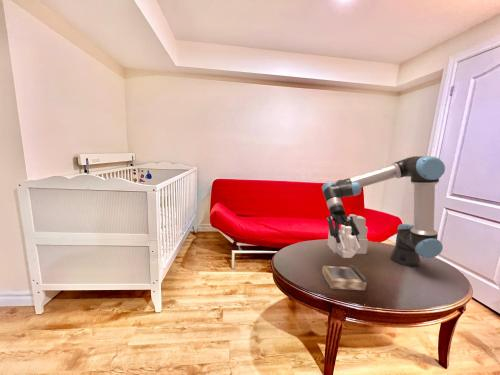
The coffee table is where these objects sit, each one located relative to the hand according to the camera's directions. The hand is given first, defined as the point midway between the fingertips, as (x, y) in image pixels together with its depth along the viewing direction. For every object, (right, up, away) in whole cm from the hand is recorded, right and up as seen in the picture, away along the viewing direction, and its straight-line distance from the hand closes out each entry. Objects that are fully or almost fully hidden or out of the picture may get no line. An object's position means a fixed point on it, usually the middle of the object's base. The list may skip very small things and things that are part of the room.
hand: (350, 249), depth 103 cm
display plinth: (-1, -18, +6) cm, 19 cm away
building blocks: (+18, -13, +45) cm, 50 cm away
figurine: (-1, -5, +4) cm, 6 cm away
